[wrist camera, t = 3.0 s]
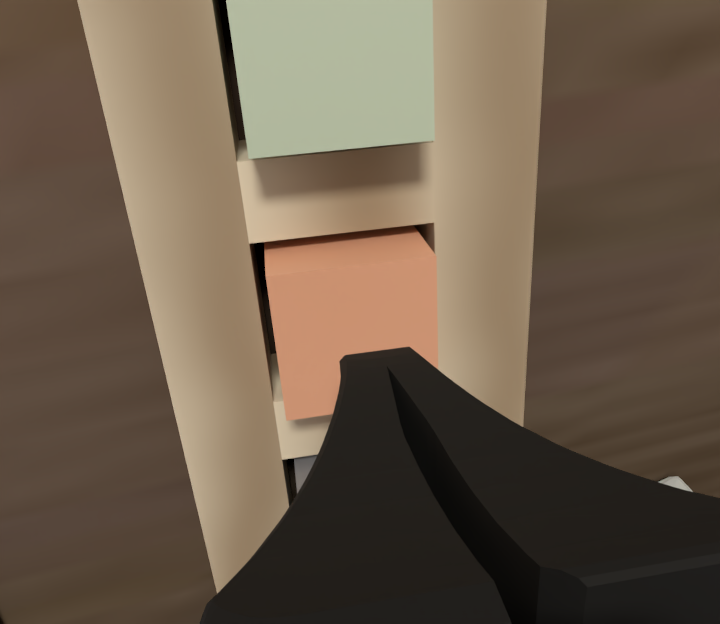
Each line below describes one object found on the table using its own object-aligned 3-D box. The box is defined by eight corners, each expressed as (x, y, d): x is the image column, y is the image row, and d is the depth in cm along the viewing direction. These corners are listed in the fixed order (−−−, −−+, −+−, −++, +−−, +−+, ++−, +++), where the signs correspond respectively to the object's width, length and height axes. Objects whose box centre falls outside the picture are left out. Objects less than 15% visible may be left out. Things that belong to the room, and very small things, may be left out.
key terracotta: (282, 372, 16) (286, 420, 15) (263, 241, 15) (265, 276, 13) (416, 353, 17) (438, 398, 15) (413, 224, 15) (436, 256, 13)
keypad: (229, 568, 21) (226, 633, 19) (70, -162, 12) (30, -201, 10) (487, 524, 22) (514, 581, 20) (508, -182, 13) (559, -220, 11)
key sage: (249, 138, 14) (248, 159, 12) (222, -50, 12) (216, -62, 10) (409, 123, 14) (435, 140, 12) (403, -62, 13) (431, -76, 11)
